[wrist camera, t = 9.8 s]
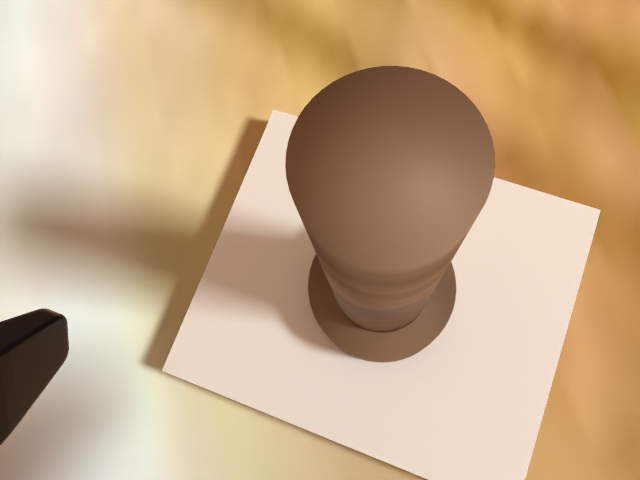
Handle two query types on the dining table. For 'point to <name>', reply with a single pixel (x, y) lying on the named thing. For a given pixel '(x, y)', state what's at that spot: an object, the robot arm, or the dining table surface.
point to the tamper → (387, 204)
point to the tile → (404, 375)
